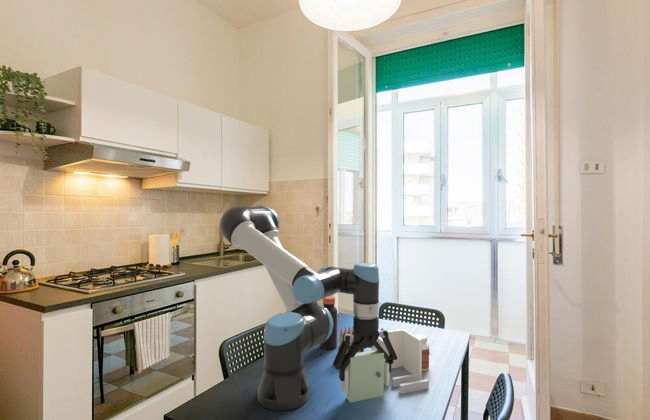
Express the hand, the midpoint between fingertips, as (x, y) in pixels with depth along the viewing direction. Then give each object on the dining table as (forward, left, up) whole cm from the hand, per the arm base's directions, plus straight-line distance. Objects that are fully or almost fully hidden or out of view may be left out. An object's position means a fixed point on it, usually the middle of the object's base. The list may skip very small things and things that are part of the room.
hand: (365, 387), depth 103 cm
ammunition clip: (+7, +26, -3) cm, 27 cm away
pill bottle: (+27, +11, -3) cm, 29 cm away
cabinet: (+16, +6, -3) cm, 17 cm away
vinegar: (+2, +39, -3) cm, 39 cm away
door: (0, 0, -3) cm, 3 cm away
